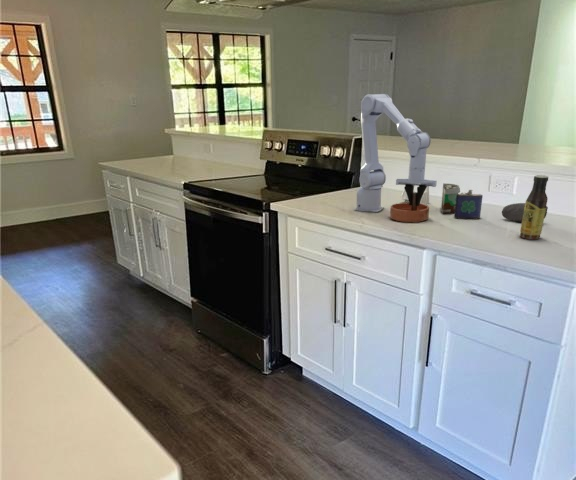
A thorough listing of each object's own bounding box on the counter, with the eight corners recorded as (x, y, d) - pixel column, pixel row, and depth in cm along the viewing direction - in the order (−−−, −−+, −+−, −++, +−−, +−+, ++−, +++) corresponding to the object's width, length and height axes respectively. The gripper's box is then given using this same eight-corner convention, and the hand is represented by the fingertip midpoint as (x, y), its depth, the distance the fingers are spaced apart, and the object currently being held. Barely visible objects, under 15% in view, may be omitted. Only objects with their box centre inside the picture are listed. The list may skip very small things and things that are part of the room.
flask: (479, 217, 190) (483, 189, 186) (480, 219, 188) (483, 190, 184) (454, 216, 193) (457, 188, 189) (454, 218, 190) (457, 190, 186)
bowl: (385, 221, 190) (385, 209, 188) (396, 212, 201) (396, 201, 200) (423, 224, 184) (424, 212, 182) (431, 215, 195) (432, 204, 193)
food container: (459, 215, 195) (462, 189, 191) (443, 214, 196) (445, 188, 192) (456, 208, 206) (459, 183, 202) (440, 207, 207) (443, 183, 203)
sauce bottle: (515, 235, 167) (525, 174, 159) (533, 234, 167) (544, 173, 160) (525, 241, 161) (536, 177, 153) (544, 240, 161) (556, 177, 154)
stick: (410, 214, 190) (411, 193, 187) (411, 213, 192) (413, 192, 189) (415, 214, 189) (417, 193, 186) (417, 213, 191) (418, 192, 188)
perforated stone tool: (498, 220, 186) (501, 201, 183) (503, 217, 189) (505, 199, 187) (542, 226, 177) (545, 206, 174) (546, 223, 180) (549, 203, 178)
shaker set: (399, 202, 220) (401, 176, 215) (404, 200, 223) (406, 174, 218) (424, 205, 212) (427, 178, 208) (429, 203, 215) (431, 177, 211)
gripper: (439, 167, 184) (436, 204, 189) (400, 165, 190) (398, 201, 195) (435, 170, 178) (432, 208, 183) (395, 168, 184) (393, 205, 190)
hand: (414, 205), depth 189 cm, fingers closed on stick, 2 cm apart
